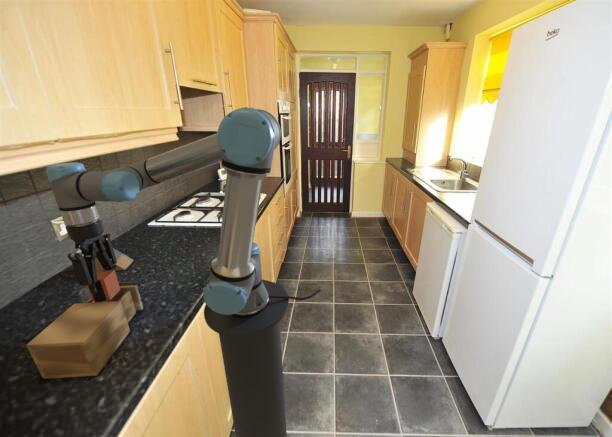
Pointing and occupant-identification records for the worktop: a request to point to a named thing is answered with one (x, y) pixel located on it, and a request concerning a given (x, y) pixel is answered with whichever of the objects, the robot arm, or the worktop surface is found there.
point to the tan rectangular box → (80, 340)
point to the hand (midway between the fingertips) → (107, 294)
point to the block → (108, 283)
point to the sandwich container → (121, 261)
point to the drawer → (127, 298)
